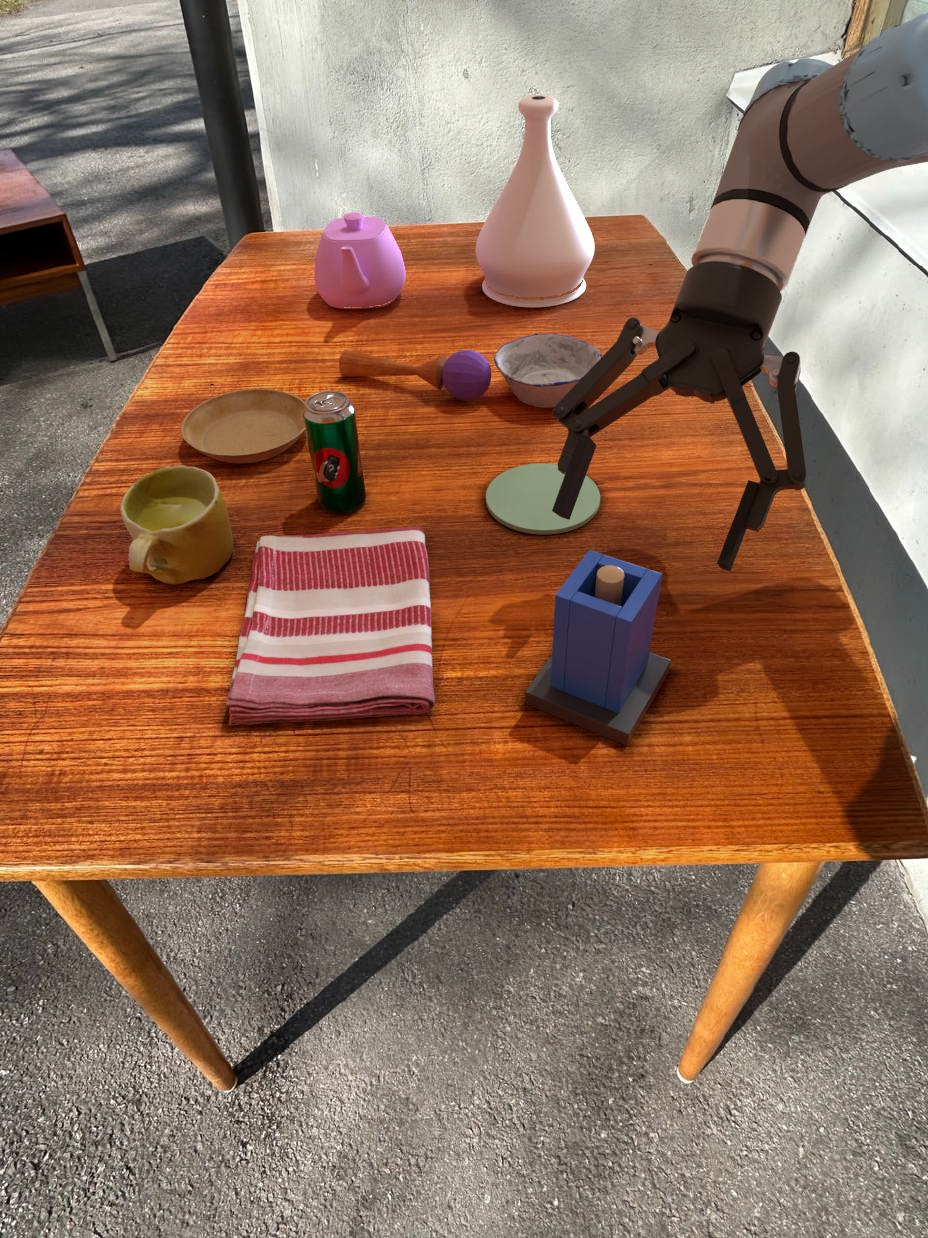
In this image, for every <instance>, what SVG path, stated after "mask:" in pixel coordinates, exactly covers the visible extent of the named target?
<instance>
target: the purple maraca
mask: <svg viewBox="0 0 928 1238" xmlns="http://www.w3.org/2000/svg"><path fill="white" fill-rule="evenodd" d="M338 368H339V372H340V374H341V376H342V377H345V378H347V377H348V378H349V377H350V378H351V377H388V376H389V377H390V376H391V377H392V376H394V377H395V376H417V377H419V378H420V379H421V380H423V381H425V382H426V383H428V384H429V385H431V386H432V387H434V388H435V389H437V390H438V391H444V390H446V391H447V394H449V395H450V396H452V397H454V398H455V399H456V400H458V401H462V402H463V401H464V402H470V401H473V400H476V399H480V398H481V397H483V396H484V394H485V393H486V392H487V391H488V390H489V389H490V385H491V381H492V367H491V365H490V363H489V361H488V360H487V359H486V357H485V356H484V355H483V354H481V353H479V352H478V351H476V350H471V349H461V350H459V351H457V352H453V353H452V354H451V355H450V357H447V356H446V355H445V354H444V355H440V356H438V357H436V358H433V359H430V360H428V361H426V362H423V363H421V364H419V365H414V364H411V363H406V362H401V361H397V360H393V359H388V358H385V357H379V356H376V355H371V354H370V355H369V354H367V353H362V352H358V351H354V350H348V349H344V350H343V351H342V352H341V354H340V356H339V360H338Z"/></svg>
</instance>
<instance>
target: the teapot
mask: <svg viewBox="0 0 928 1238" xmlns="http://www.w3.org/2000/svg"><path fill="white" fill-rule="evenodd" d="M386 223H387V222H386V221H384V220H383V219H381V218H379V217H376V216H366V215H365V214H363V213H361V212H357V211H355V212H353V211H352V212H348V213H346V214H344V215H343V217H341V218H340V217H339V218H336V219H333V220H332V221H330V222H329V223H328V224H327V225H326V226H325V227H324V229H323V231H322V234H321V236H320V240H319V243H318V246H317V250H316V253H315V254H316V255H315V259H314V270H313V271H314V285H315V286H314V287H315V289H316V291H317V292H318V295H319V296H320V297H321V299H322V300H323V301H324V302H325V303H326V304H327V305H328V306H330V307H332V308H335V309H345V310H359V309H361V310H362V309H363V310H364V309H375V308H384V307H386V306H387V305H390V304H392V303H393V302H394V301H395V300H396V299H397V298H398V296H399V295H400V293H401V291H402V290H403V288H404V285H405V284H406V283H405V282H406V279H407V275H406V273H407V272H406V267H405V263H404V259H403V256H402V255H403V254H402V252H401V249H400V247H399V245H398V243H397V241H396V239H395V237H394V234H393V233H392V231H391V229H390V228H389V226H388V225H387V224H386ZM397 295H398V296H397ZM393 299H394V300H393ZM391 300H393V301H392V302H390V303H388V302H389V301H391ZM385 303H388V304H385ZM382 304H385V305H382ZM375 305H381V306H375ZM369 306H374V307H369ZM344 307H351V308H344ZM352 307H361V308H352Z"/></svg>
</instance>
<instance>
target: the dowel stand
mask: <svg viewBox="0 0 928 1238" xmlns="http://www.w3.org/2000/svg"><path fill="white" fill-rule="evenodd" d="M623 583H624V572H623V571H622V570H621V569H620V568H618V567H616V566H611V565H608V566H603V567H601V568H600V569H599V570H598V571H597V577H596V587H595V598H598V599H601V600H604V601H607V602H610V603H612V604H615V605H618V606H621V598H622V591H623ZM671 663H672V660H671V659H669V658H666V657H663V656H660V655H658V654H655V653H653V652H651V651H650V652H649V658H648V664H647V667H646V668H645V670H644V672H643V673H642V675H641V677H640V678H639V680H638V682H637V684H636V685H635V687H634V689H633V690H632V692H631V694H630V695H629V697H628V699H627V700H626V702H625V704H624V706H623V707H622V709H621V711H620V712H619V713H616V712H614V711H611V710H609V709H606V708H604V707H601V706H599V705H596V704H594V703H591V702H588V701H586V700H583V699H581V698H578V697H576V696H573V695H571V694H568V693H566V692H564V691H561V690H558V689H556V688H553V687H551V686H550V683H551V665H552V654H551V655H550V656H549V658H548V659H547V661H546V662H545V664H543V666H542V667H541V669H540V670H539V672H538V673H537V675H536V676H535V678H534V679H533V680H532V682H531V683H530V685H529V686H528V687H527V689H526V690H525V693H524V704H525V705H526V706H528V707H531V708H534V709H536V710H539V711H541V712H543V713H545V714H548V715H550V716H553V717H555V718H558V719H560V720H563V721H565V722H567V723H570V724H571V725H575V726H577V727H579V728H582V729H584V730H586V731H589V732H592V733H594V734H597V735H599V736H601V737H604V738H607V739H609V740H611V741H612V742H616V743H619V744H620V745H623V746H625V747H628V746H629V745H630V742H631V740H632V739H633V738H634V735H635V733H636V732H637V730H638V728H639V726H640V725H641V723H642V721H643V719H644V717H645V715H646V714H647V712H648V710H649V709H650V707H651V705H652V703H653V702H654V700H655V698H656V696H657V695H658V693H659V691H660V689H661V687H662V685H663V684H664V682H665V680H666V678H667V676H668V675H669V673H670V670H671V669H670V668H671Z"/></svg>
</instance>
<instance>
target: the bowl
mask: <svg viewBox="0 0 928 1238" xmlns="http://www.w3.org/2000/svg"><path fill="white" fill-rule="evenodd" d="M602 357H603V355H602V354H601V350H600V349H598V348H596V347H595V346H594V345H593V344H591V343H588V342H587V341H585V340H582V339H580V338H577V337H574V336H572V335H567V334H559V333H534V334H530V335H525V336H522V337H518V338H515V339H513V340H511V341H509V342H507V343H504V344H503V345H501V347H499V348H498V349H497V351H496V352H495V354H494V357H493V361H494V365H495V367H496V368H497V370H498V371H499V373H500V374H501V375H502V377H503V379H504V380H505V382H506V383H507V384H508V386H509V388H510V389H511V391H512V393H513V394H514V396H515V397H516V398H517V399H518V400H519V401H520V402H522V403H524V404H525V405H528V406H531V407H535V408H541V409H542V408H544V409H545V408H546V409H551V408H554V407H555V406H556V405H557V404H558V403H559V402H560V401H561V400H562V398H563V397H564V396H565V395H566V394H567V393H568V392H569V391H570V390H571V389H572V388H573V387H574V386H575V385H576V384H577V383H578V382H579V381H580V380H581V379H582V377H583V376H584V375H585V374H586V373H587V372H588V371H589V370H590V369H591V368H592V367H593V366H594V365H595V364H596V363H597V362H598V361H599V360H600V359H601V358H602Z"/></svg>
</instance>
